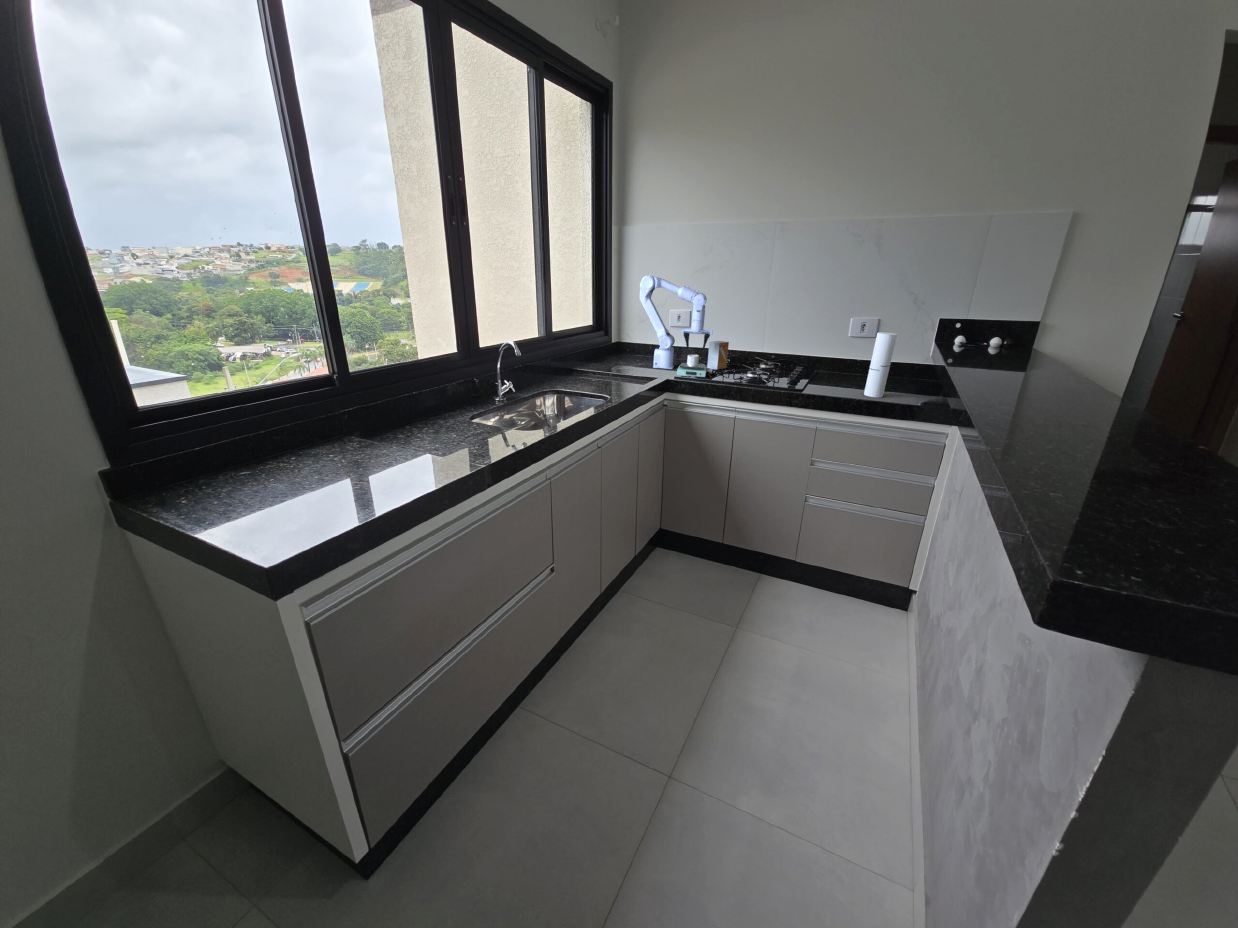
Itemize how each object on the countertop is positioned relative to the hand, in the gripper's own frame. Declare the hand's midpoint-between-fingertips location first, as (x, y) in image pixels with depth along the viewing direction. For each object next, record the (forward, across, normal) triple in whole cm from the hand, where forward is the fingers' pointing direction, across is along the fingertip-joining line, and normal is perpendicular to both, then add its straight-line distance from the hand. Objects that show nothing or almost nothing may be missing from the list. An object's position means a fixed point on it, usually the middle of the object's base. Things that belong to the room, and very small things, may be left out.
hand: (695, 349), depth 243 cm
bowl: (+6, 0, -10) cm, 12 cm away
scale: (+10, 0, -10) cm, 14 cm away
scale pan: (+7, 0, -10) cm, 12 cm away
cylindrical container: (+10, +76, -26) cm, 81 cm away
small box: (+10, +11, +10) cm, 18 cm away
